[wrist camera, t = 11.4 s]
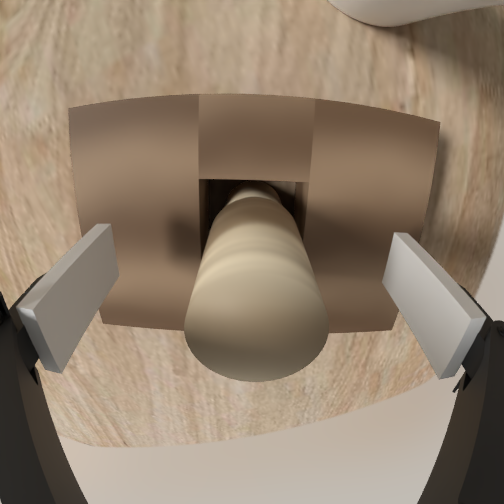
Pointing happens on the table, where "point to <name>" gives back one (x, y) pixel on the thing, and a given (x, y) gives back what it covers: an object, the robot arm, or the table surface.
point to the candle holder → (405, 9)
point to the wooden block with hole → (250, 168)
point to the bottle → (255, 292)
